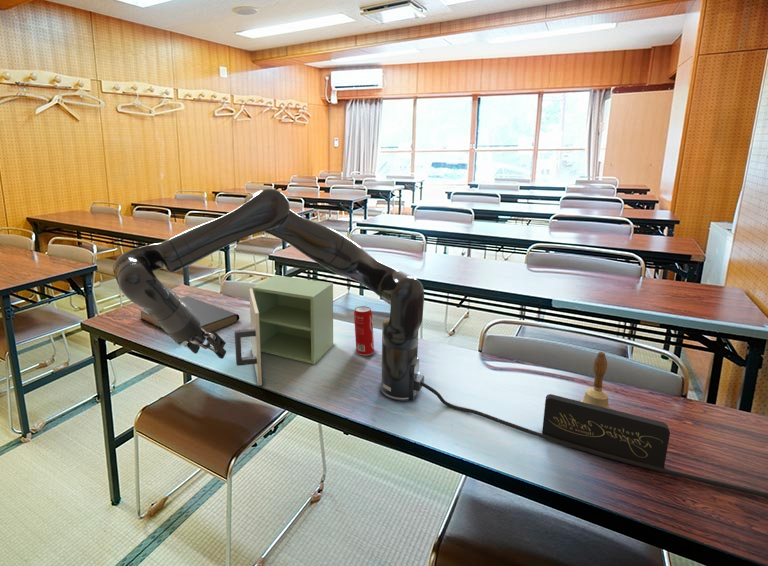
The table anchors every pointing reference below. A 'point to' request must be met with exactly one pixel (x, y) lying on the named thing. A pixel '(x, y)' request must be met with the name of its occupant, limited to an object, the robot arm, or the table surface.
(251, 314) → the door
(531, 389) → the table surface
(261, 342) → the cupboard
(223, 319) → the file folder
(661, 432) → the nameplate
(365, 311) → the beverage can
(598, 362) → the hand bell
